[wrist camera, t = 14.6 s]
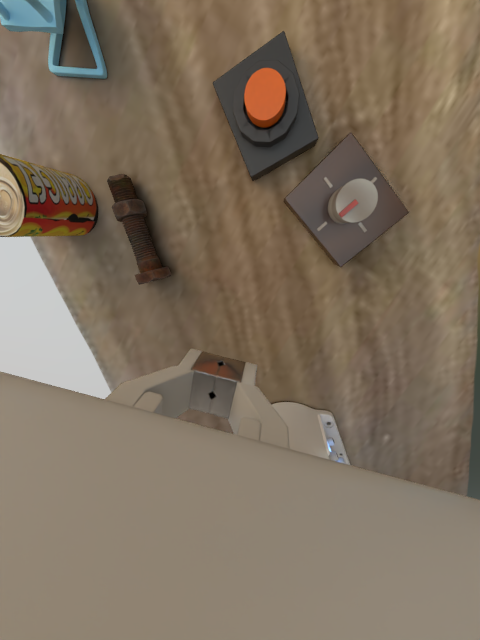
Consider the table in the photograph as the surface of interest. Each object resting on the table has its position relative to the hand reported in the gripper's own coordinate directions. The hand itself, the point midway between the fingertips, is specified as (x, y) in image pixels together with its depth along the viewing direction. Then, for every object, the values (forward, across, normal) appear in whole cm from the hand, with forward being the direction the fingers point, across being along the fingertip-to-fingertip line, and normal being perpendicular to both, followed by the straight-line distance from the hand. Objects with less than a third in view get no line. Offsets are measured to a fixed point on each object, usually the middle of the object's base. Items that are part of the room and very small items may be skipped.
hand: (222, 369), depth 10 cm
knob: (+26, -9, -11) cm, 30 cm away
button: (+25, +3, -19) cm, 32 cm away
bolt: (+29, +19, -2) cm, 35 cm away
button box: (+29, +4, -19) cm, 35 cm away
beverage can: (+29, +32, -4) cm, 43 cm away
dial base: (+29, -9, -11) cm, 32 cm away
